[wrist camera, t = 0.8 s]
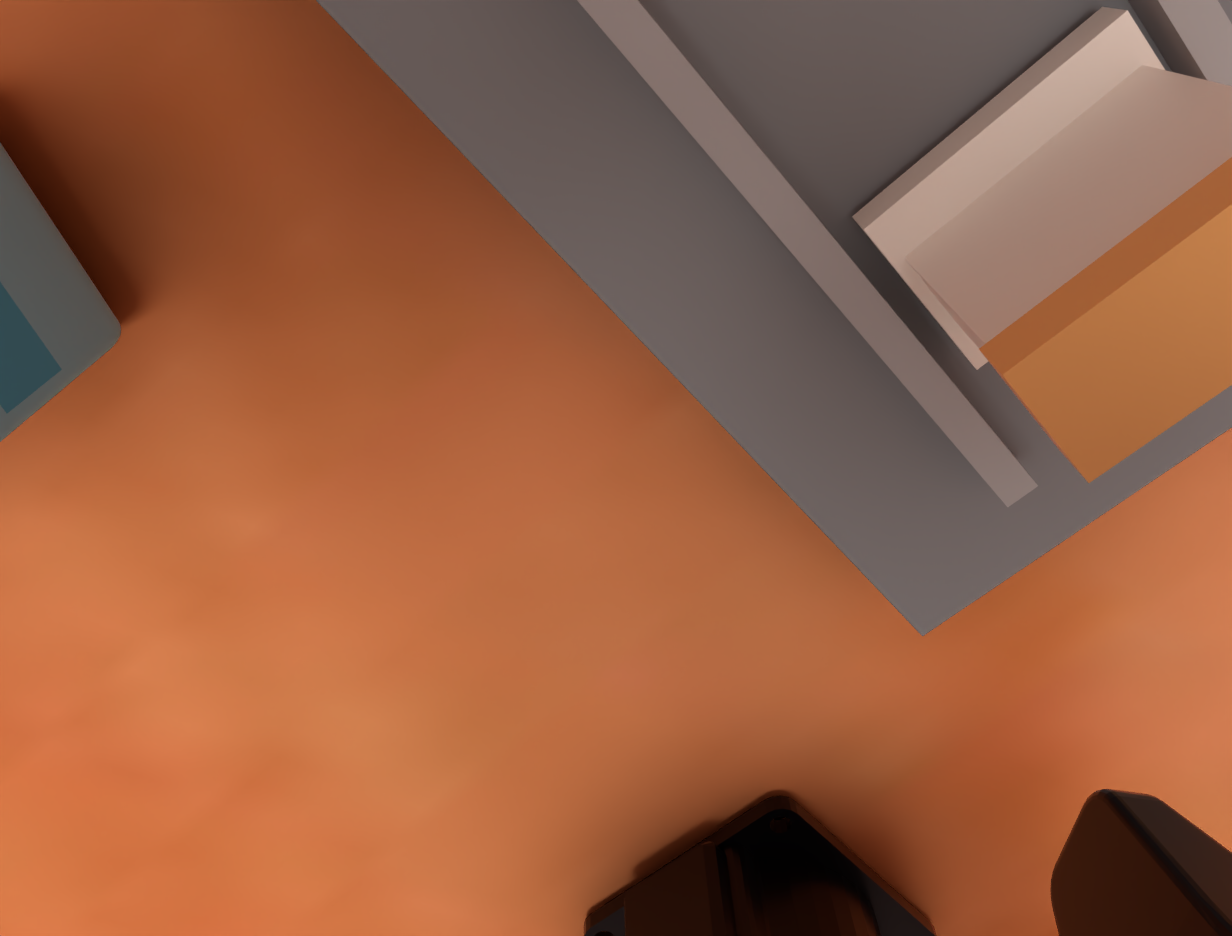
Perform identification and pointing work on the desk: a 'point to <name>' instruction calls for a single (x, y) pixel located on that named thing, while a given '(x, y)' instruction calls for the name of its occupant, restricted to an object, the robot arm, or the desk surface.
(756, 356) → the console board
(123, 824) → the desk surface
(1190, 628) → the desk surface
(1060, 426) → the fader tab
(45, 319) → the data package
